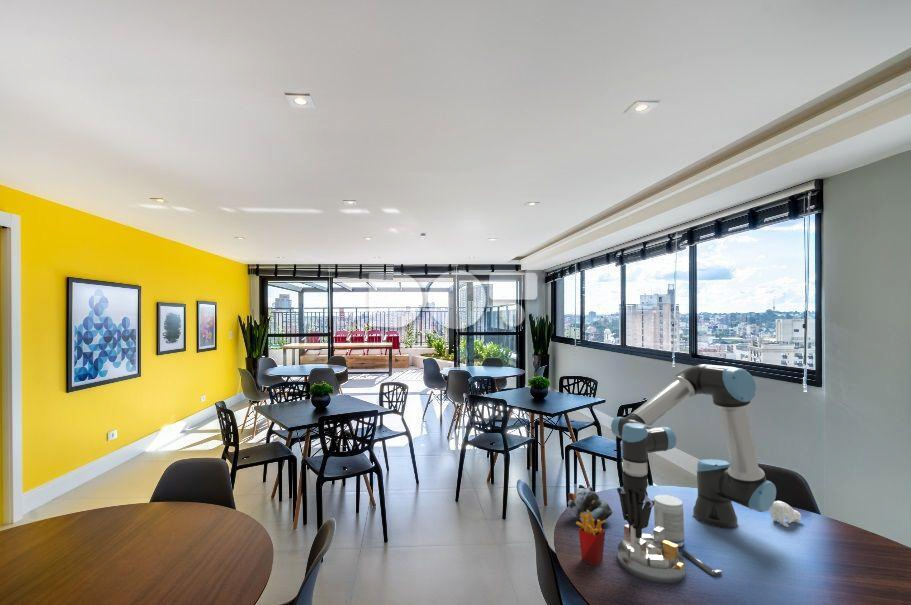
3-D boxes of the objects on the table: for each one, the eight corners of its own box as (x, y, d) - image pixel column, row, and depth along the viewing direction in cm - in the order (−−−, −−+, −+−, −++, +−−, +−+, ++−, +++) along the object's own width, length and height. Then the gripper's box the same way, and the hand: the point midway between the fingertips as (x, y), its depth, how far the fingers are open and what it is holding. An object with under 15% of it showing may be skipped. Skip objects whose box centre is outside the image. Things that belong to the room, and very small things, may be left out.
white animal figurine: (767, 498, 164) (791, 498, 166) (766, 519, 163) (790, 519, 165) (782, 505, 157) (807, 505, 160) (781, 527, 157) (806, 527, 159)
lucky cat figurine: (591, 532, 153) (572, 495, 157) (574, 530, 163) (557, 496, 167) (619, 513, 159) (600, 478, 163) (601, 513, 169) (584, 480, 173)
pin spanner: (681, 554, 139) (681, 549, 139) (689, 553, 140) (689, 548, 140) (713, 577, 127) (713, 572, 127) (721, 575, 128) (721, 570, 128)
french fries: (606, 559, 136) (606, 514, 136) (594, 570, 130) (594, 522, 130) (582, 549, 142) (581, 505, 142) (570, 558, 136) (569, 513, 137)
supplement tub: (689, 543, 146) (688, 501, 147) (675, 551, 141) (674, 508, 141) (663, 531, 154) (662, 492, 155) (649, 538, 149) (648, 498, 150)
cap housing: (656, 544, 145) (656, 526, 146) (700, 579, 126) (699, 559, 126) (606, 549, 141) (605, 532, 142) (643, 586, 122) (642, 566, 122)
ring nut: (618, 539, 142) (618, 522, 143) (665, 542, 141) (665, 524, 141) (633, 566, 127) (633, 546, 127) (685, 569, 125) (685, 549, 125)
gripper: (610, 467, 136) (611, 539, 135) (644, 481, 125) (644, 560, 124) (626, 464, 140) (627, 533, 139) (660, 477, 128) (661, 553, 127)
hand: (635, 546), depth 131 cm, fingers closed
